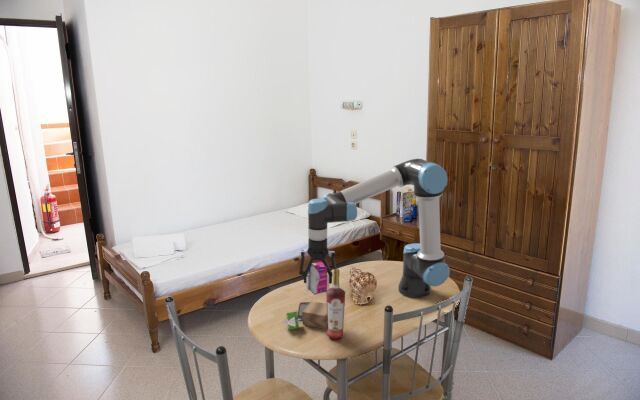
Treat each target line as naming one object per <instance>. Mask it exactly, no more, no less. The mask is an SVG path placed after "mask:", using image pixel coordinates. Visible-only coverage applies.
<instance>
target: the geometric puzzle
mask: <svg viewBox="0 0 640 400" xmlns="http://www.w3.org/2000/svg"><path fill="white" fill-rule="evenodd" d="M301 321H303V318H301V317H300V318H299V317H298V312H297V311H292V312H291V311H290V312H287V313H286V315H285V318H284V319H283V323H284V324H285V325H287V328H288V331H290V330H294V329H295V330H296V329H300V325H301V323H302V322H301Z"/></svg>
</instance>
